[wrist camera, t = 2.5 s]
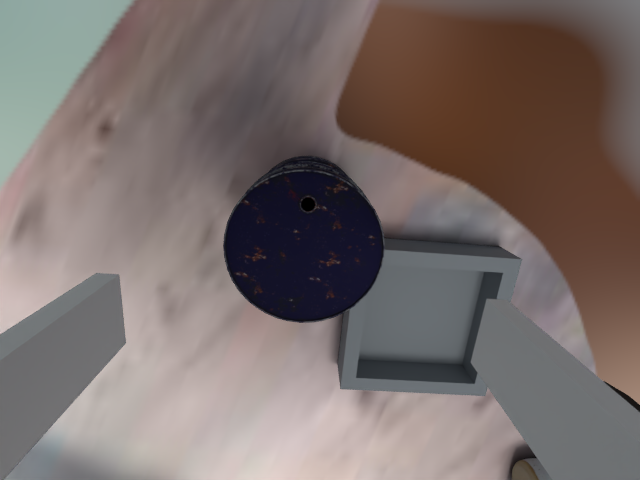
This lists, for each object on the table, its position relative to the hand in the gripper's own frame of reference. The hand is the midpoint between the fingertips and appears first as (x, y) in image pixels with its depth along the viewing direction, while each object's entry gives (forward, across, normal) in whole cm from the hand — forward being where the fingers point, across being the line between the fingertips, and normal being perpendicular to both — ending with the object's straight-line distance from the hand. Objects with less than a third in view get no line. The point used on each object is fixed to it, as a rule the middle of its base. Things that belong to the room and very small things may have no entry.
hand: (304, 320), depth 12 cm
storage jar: (+23, 0, 0) cm, 23 cm away
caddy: (+23, -13, +11) cm, 29 cm away
